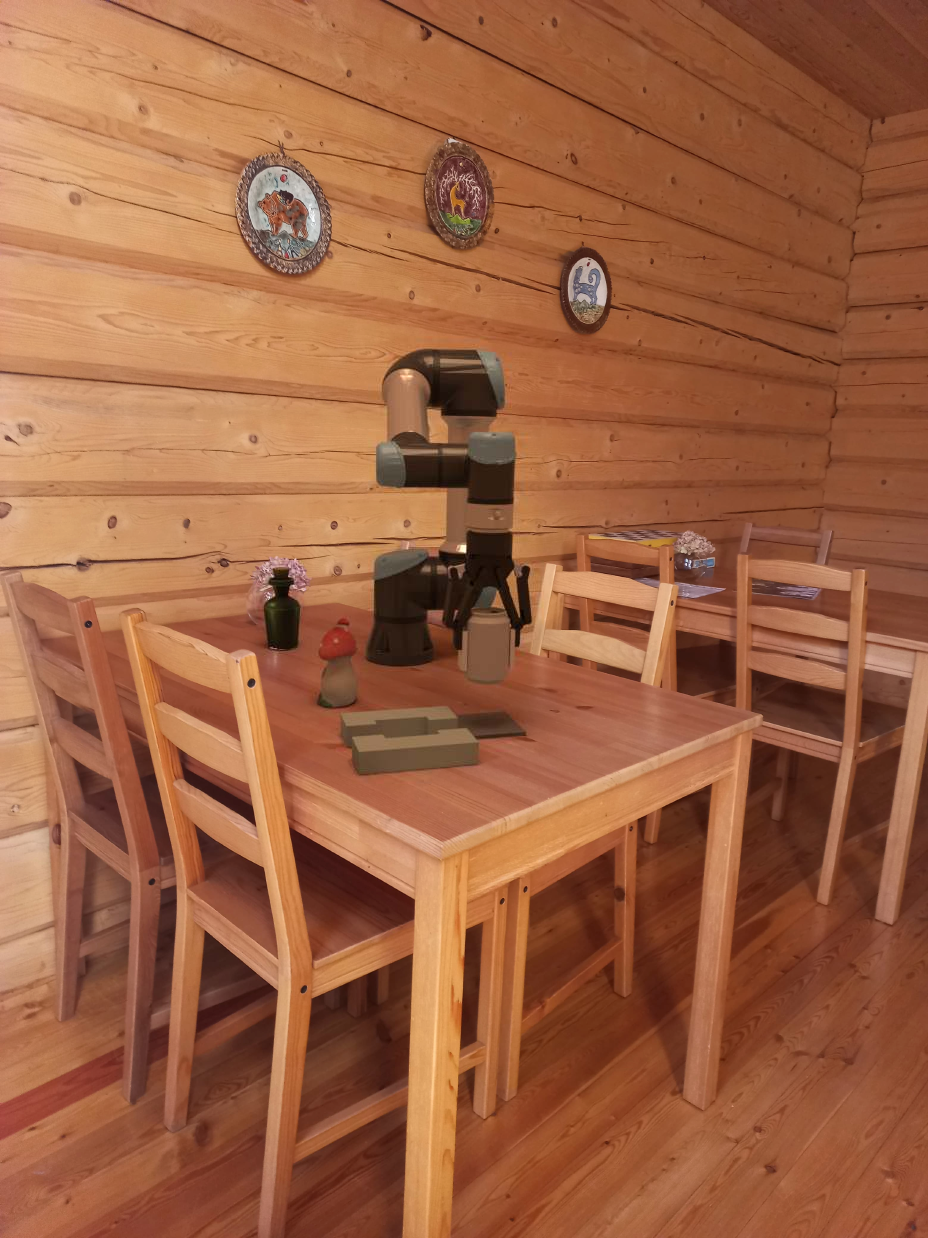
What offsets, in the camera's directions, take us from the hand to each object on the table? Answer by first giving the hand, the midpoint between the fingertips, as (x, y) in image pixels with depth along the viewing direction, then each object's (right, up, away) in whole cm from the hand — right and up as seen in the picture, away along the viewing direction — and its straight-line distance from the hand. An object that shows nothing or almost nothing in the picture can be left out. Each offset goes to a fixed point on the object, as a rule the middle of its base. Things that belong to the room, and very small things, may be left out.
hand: (485, 667), depth 147 cm
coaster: (0, -10, +2) cm, 10 cm away
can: (0, -2, 0) cm, 2 cm away
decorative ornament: (-27, -7, +14) cm, 31 cm away
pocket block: (-13, -12, -8) cm, 20 cm away
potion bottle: (-44, +1, +53) cm, 69 cm away
